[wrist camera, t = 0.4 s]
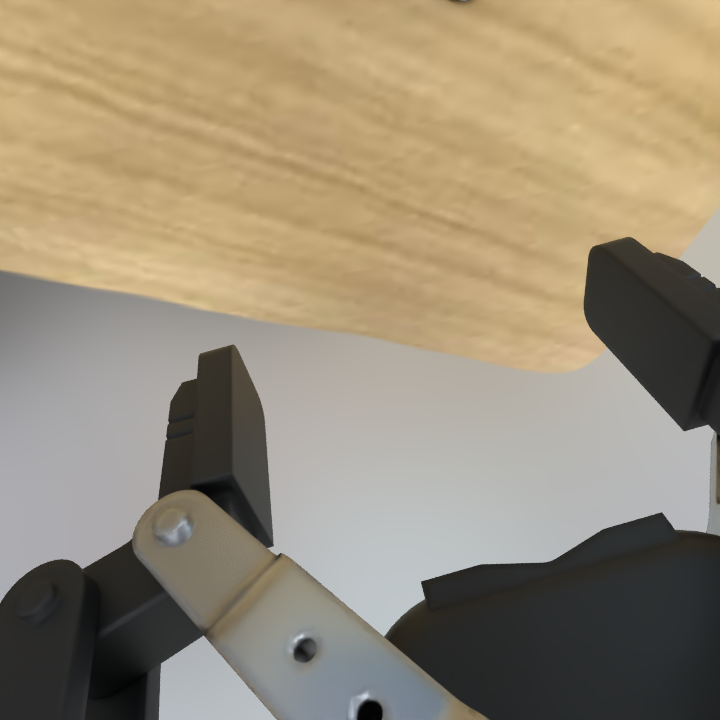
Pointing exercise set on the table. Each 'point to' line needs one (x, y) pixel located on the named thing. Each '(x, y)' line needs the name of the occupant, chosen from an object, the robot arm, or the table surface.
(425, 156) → the table surface
